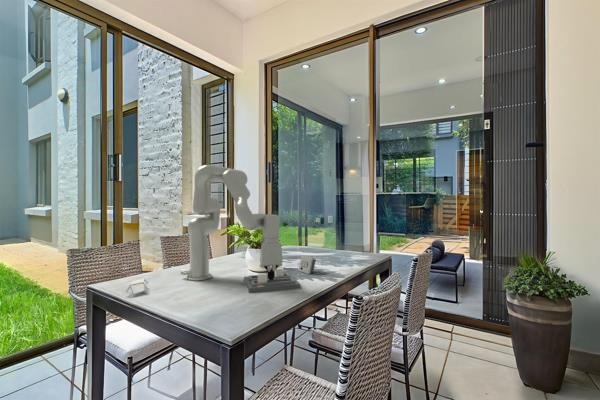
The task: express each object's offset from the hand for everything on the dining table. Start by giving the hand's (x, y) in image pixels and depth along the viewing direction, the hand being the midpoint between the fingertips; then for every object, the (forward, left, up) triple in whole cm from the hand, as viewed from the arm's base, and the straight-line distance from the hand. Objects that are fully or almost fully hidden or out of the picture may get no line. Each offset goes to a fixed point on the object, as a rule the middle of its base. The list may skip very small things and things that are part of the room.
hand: (271, 279), depth 146 cm
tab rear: (+6, +9, -2) cm, 11 cm away
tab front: (-4, 0, -2) cm, 4 cm away
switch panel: (+1, +4, -4) cm, 6 cm away
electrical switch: (+25, +22, -4) cm, 34 cm away
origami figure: (-58, +10, -4) cm, 59 cm away
